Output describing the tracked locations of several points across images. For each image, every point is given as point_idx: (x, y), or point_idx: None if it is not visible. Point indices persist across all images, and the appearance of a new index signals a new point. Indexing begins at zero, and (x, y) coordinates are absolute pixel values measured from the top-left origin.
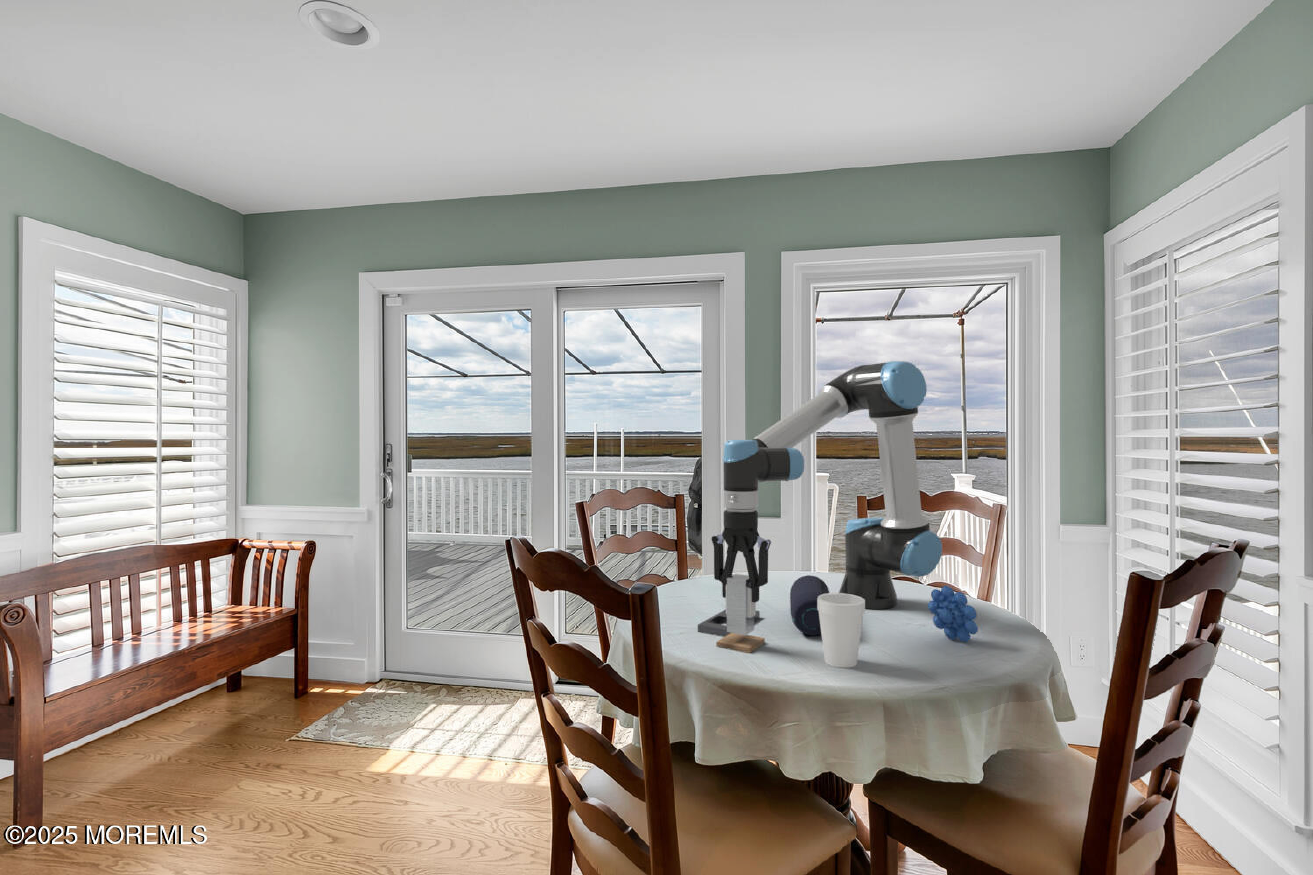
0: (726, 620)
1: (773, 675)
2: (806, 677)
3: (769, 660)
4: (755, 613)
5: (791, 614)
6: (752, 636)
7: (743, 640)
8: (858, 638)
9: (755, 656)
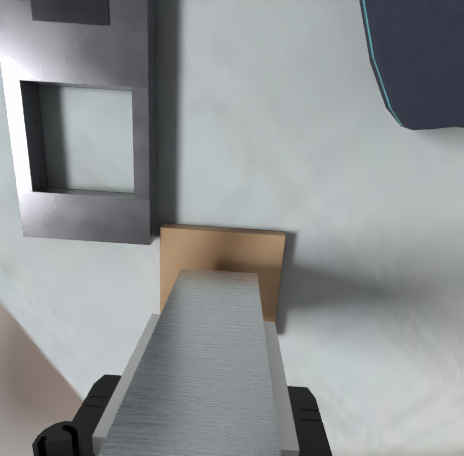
0: (67, 84)
1: (370, 437)
2: (448, 419)
3: (337, 360)
4: (275, 327)
5: (385, 79)
6: (242, 240)
7: None
8: None
9: (293, 350)
